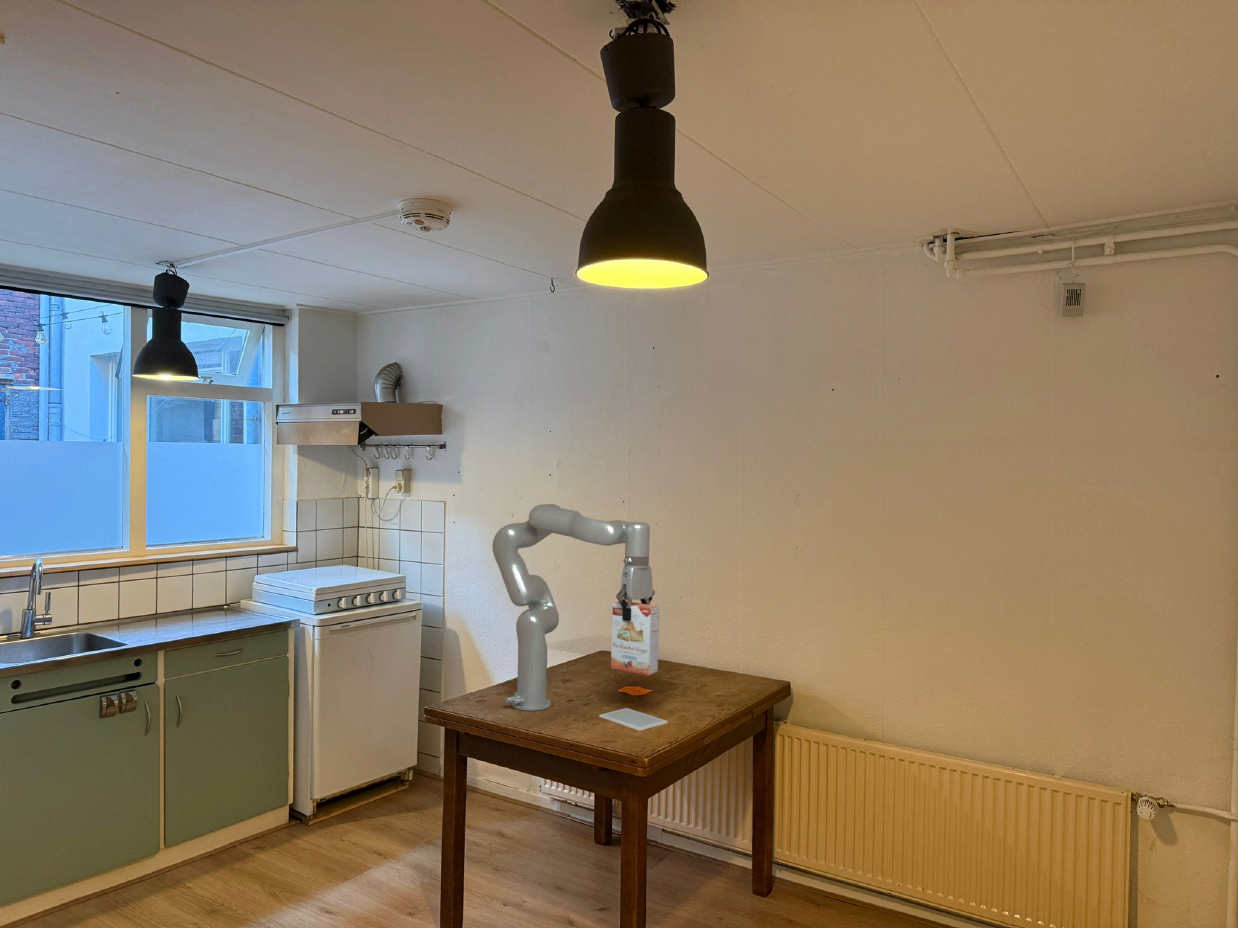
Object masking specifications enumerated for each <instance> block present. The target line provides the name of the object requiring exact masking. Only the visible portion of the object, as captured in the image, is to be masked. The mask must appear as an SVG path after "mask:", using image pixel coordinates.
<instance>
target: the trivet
mask: <svg viewBox="0 0 1238 928" xmlns="http://www.w3.org/2000/svg"><path fill="white" fill-rule="evenodd" d="M599 718H601V719H605V720H607V721H611V722H613V723H617V724H619V725H622V726H625V727H627V728H631V729H634V730H636V731H639V732H640V731H644V730H647V729H648V730H649V729H651V728H655V727H658V726H661V725H666V724H667V723H668V720H666V719H662V718H659V717H656V716H653V715H649V714H648V713H643V712H640V711H636V710H634V709H632V708H628V707H627V708H626V707H624V708H621V709H618V710H614V711H609V712H606V713H602V714H599Z"/></svg>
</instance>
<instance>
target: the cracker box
mask: <svg viewBox="0 0 1238 928" xmlns="http://www.w3.org/2000/svg"><path fill="white" fill-rule="evenodd" d="M630 608H631V621H625V620H623V619H622V615H623V607H621V604H620V603H619V601H616V602H613V603H612V618H611V620H612V623H611V626H612V627H611V651H610V652H611V653H610V654H611V655H610V657H611V658H610V669H611V670H617V671H622V672H628V673H633V674H638V675H642V676H652V675H653V674H657V673H658V671H659V668H658V667H659V644H660V643H659V638H660V632H659V631H660V605H653V604H650V605H648V604H641V602H640V603H638V602H633V601H632V602H631V605H630Z"/></svg>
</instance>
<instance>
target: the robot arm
mask: <svg viewBox="0 0 1238 928" xmlns="http://www.w3.org/2000/svg"><path fill="white" fill-rule="evenodd" d="M650 527H651V526H650V524H649V523H647V522H642V521H631V522H630V521H627V520H626V521H625V520H621V519H620V520H619V519H616V520H607V521H606V520H599V519H596V518H591V517H586V516H583V515H582V514H581V513H580V512H579V511H578V510H573V509H568V508H561V506H559V505H557V504H554V503H553V504H552V503H546V504H545V503H543V504H538V505H535V506H534V507H533V508H532V509H531V510H530V512H529V514H528V519H527V520H526V521H525V522H514V523H510V524H506V525H504V526H502V527H500V528H499V530H498V531H497V532H496V533H495V535H494V537H493V541H492V554H493V556H494V560H495V561H496V564H497V566H498V569H499V572H500V573H501V574H500V575H501V577H502V580H503V583H504V585H505V588H506V591H507V594H508V597H509V600H510V601H511V603H512V604H513V605H514V606H516V607H526V606H527V607H528V608H527V609H526V610H524V611H522V612H521V613H520V614H519V616H518V618H517V620H516V623H515V624H516V625H515V629H516V630H515V631H516V636H517V637H516V639H517V680H516V681H517V685H516V687H517V688H516V689H517V691H514V695H512V696H508V697H505V698H504V703H505V704H507V705H508V704H511V706H512V707H513V708H514V709H516V710H521V711H528V712H529V711H541V710H546V709H549V708H550V707H551V705H552V703H551V700H549V699H548V698H547V687H548V686H547V685H548V683H547V681H548V679H547V678H548V645H547V640H546V635H548V634H550V633H551V632H553V631H554V630H556V629H557V627H558V625H559V622H560V615H559V612H558V609H557V606H556V603H555V600H554V598H553V595H552V593H551V590H550V588H549V585H548V583H547V582H546V580H544V578H542V577H541V576H540V575H537V574H530V573H529V570H528V568H527V566H526V562H525V560H524V559H523V557H522V556H521V555H520V553H519V549H526V548H530V547H532V546H535V545H537V544H538V543H540V542H541V541H542V540H544V539H546V538H547V537H548V536H550V535H551V534H555V535H560V536H565V537H569V538H573V539H575V540H578V541H579V540H580V541H582V542H585V543H590V544H595V545H601V546H606V547H607V546H608V547H609V546H615V545H620V544H624V546H625V547H624V559H623V564H624V566H623V568H622V573H621V582H620V590H619V591H618V593H617V594H616V596H615V598H616V599H617V602H619V603H620V604H621V607H623V615H622V619H623V620H625V621H631V608H630V605H631V602H633V601H636V600H639V601H640V604H648V605H651V602H652V600H653V598H654V596H655V594H656V592H655V590H654V589H653V588H654V587H653V575H652V568H651V566H650V565H649V564H650V537H651V535H650V534H651V531H650V530H651V528H650Z"/></svg>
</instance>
